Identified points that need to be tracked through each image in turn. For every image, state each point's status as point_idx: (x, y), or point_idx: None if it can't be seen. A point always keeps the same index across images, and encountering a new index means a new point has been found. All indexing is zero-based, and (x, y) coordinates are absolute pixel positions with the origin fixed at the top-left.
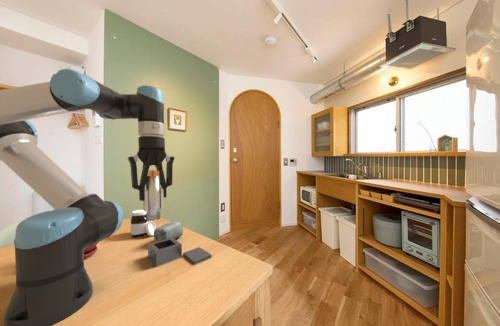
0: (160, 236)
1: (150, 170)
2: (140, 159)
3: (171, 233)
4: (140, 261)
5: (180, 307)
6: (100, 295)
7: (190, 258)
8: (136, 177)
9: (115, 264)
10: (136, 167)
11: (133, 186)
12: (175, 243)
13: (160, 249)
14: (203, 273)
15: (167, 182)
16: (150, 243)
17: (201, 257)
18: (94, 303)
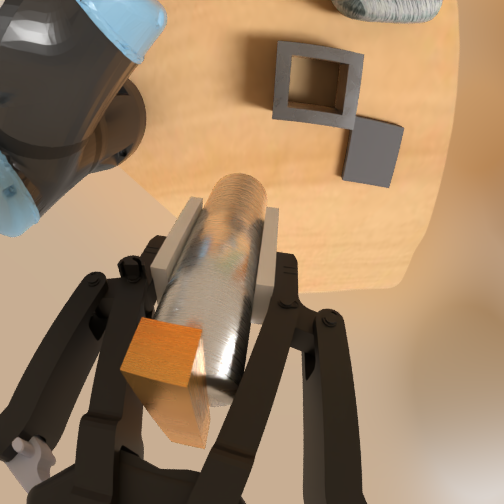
0: (342, 6)
1: (160, 408)
2: (59, 478)
3: (381, 21)
4: (253, 50)
5: None
6: (157, 136)
7: (347, 159)
8: (88, 363)
9: (198, 23)
10: (66, 420)
11: (95, 315)
12: (344, 108)
13: (289, 110)
14: (329, 217)
15: (308, 344)
16: (286, 41)
17: (366, 177)
18: (149, 153)
